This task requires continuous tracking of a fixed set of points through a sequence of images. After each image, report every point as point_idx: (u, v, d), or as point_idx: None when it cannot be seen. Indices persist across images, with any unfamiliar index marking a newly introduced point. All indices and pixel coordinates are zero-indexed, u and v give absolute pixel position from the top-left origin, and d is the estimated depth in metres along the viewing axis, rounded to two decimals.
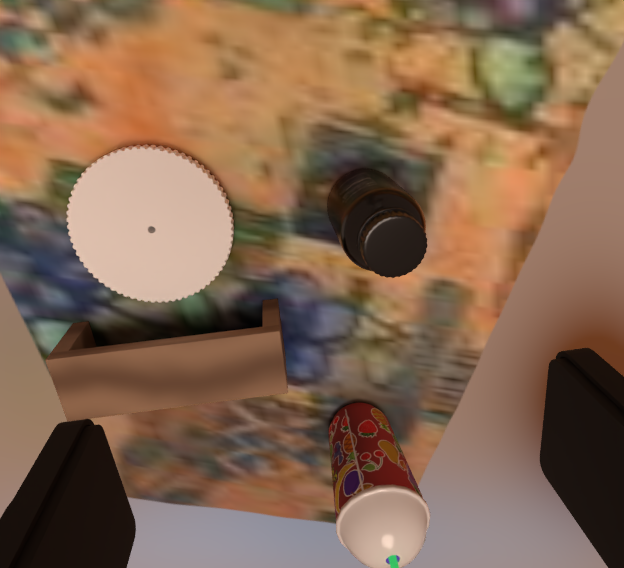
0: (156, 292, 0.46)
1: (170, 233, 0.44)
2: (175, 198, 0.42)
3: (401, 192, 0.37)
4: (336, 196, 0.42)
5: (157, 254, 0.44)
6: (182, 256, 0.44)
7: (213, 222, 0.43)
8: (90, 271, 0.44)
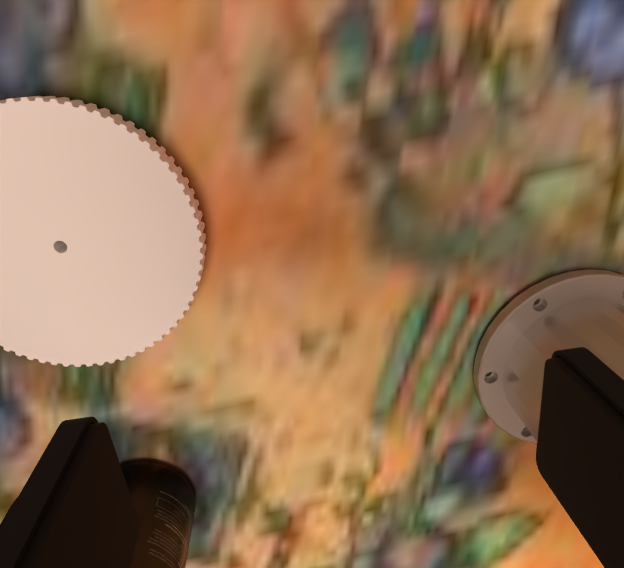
0: None
1: (58, 276, 0.25)
2: (123, 287, 0.26)
3: None
4: (155, 501, 0.30)
5: (14, 253, 0.25)
6: (18, 292, 0.26)
7: (90, 340, 0.27)
8: None
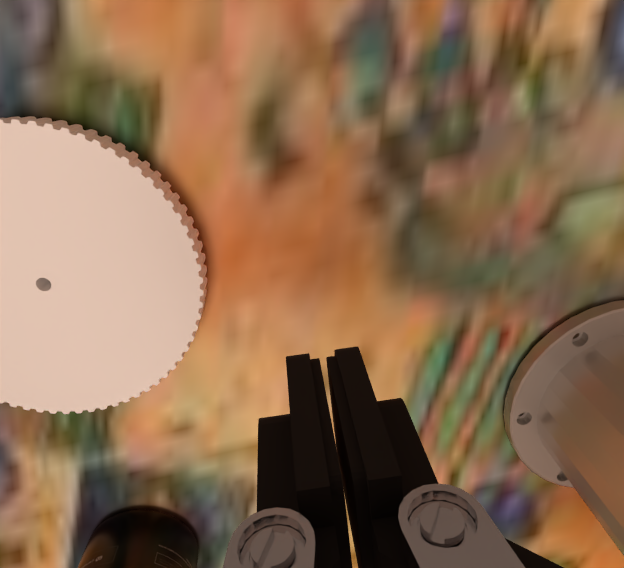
0: None
1: (42, 316, 0.23)
2: (114, 328, 0.23)
3: None
4: (153, 557, 0.27)
5: None
6: None
7: (80, 385, 0.24)
8: None
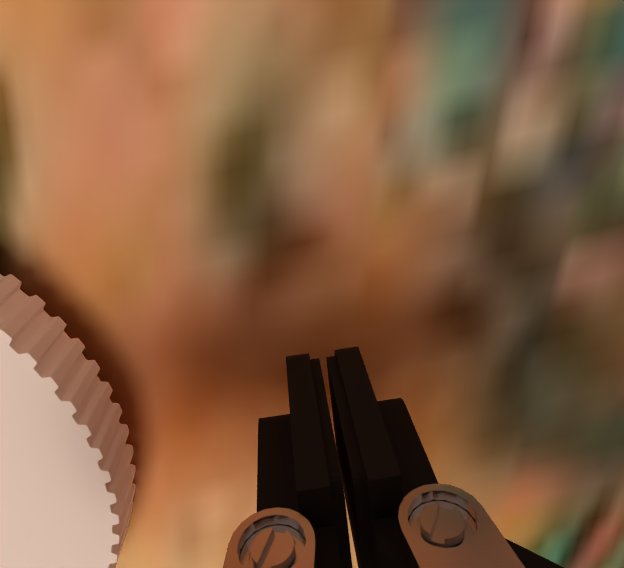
0: None
1: None
2: None
3: None
4: None
5: None
6: None
7: None
8: None
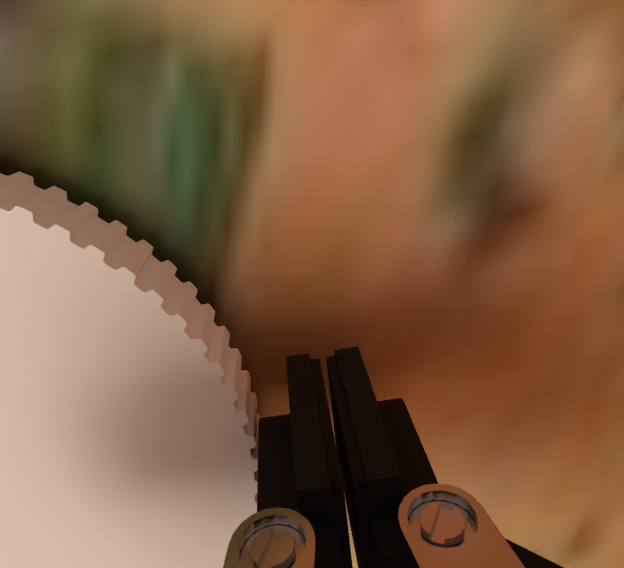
0: None
1: None
2: None
3: None
4: None
5: None
6: None
7: None
8: None
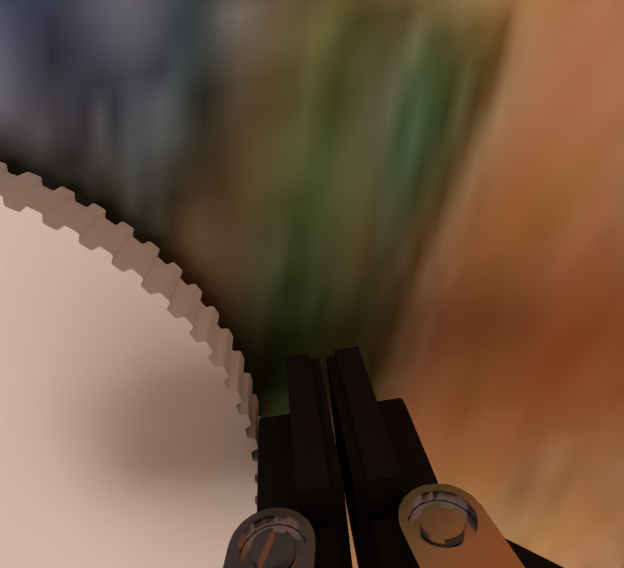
0: None
1: None
2: None
3: None
4: None
5: None
6: None
7: None
8: None
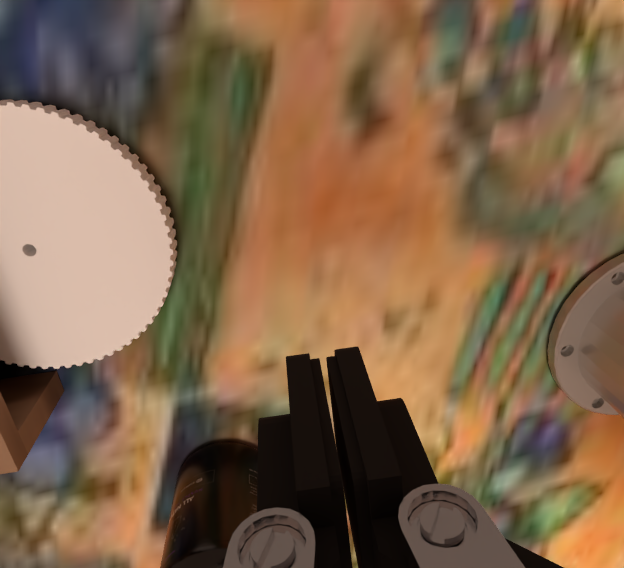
0: None
1: (26, 279, 0.26)
2: (92, 292, 0.26)
3: None
4: (247, 478, 0.31)
5: None
6: None
7: (58, 343, 0.27)
8: None
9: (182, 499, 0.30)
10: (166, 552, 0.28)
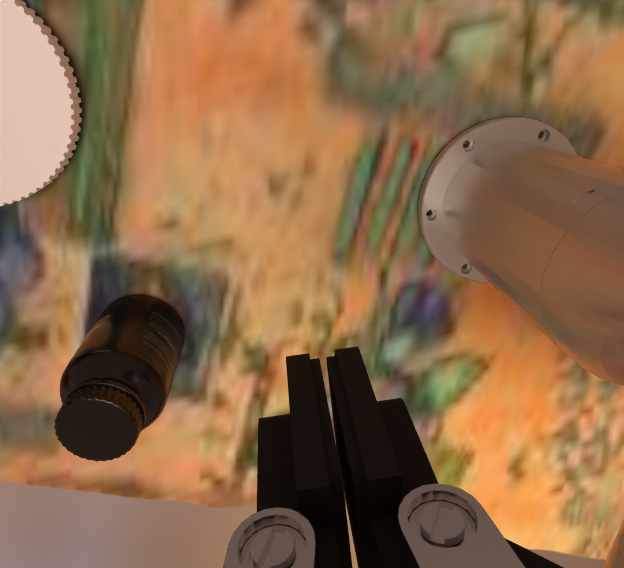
0: None
1: None
2: (7, 136, 0.32)
3: (163, 406, 0.33)
4: (148, 316, 0.36)
5: None
6: None
7: None
8: None
9: (91, 330, 0.35)
10: None
